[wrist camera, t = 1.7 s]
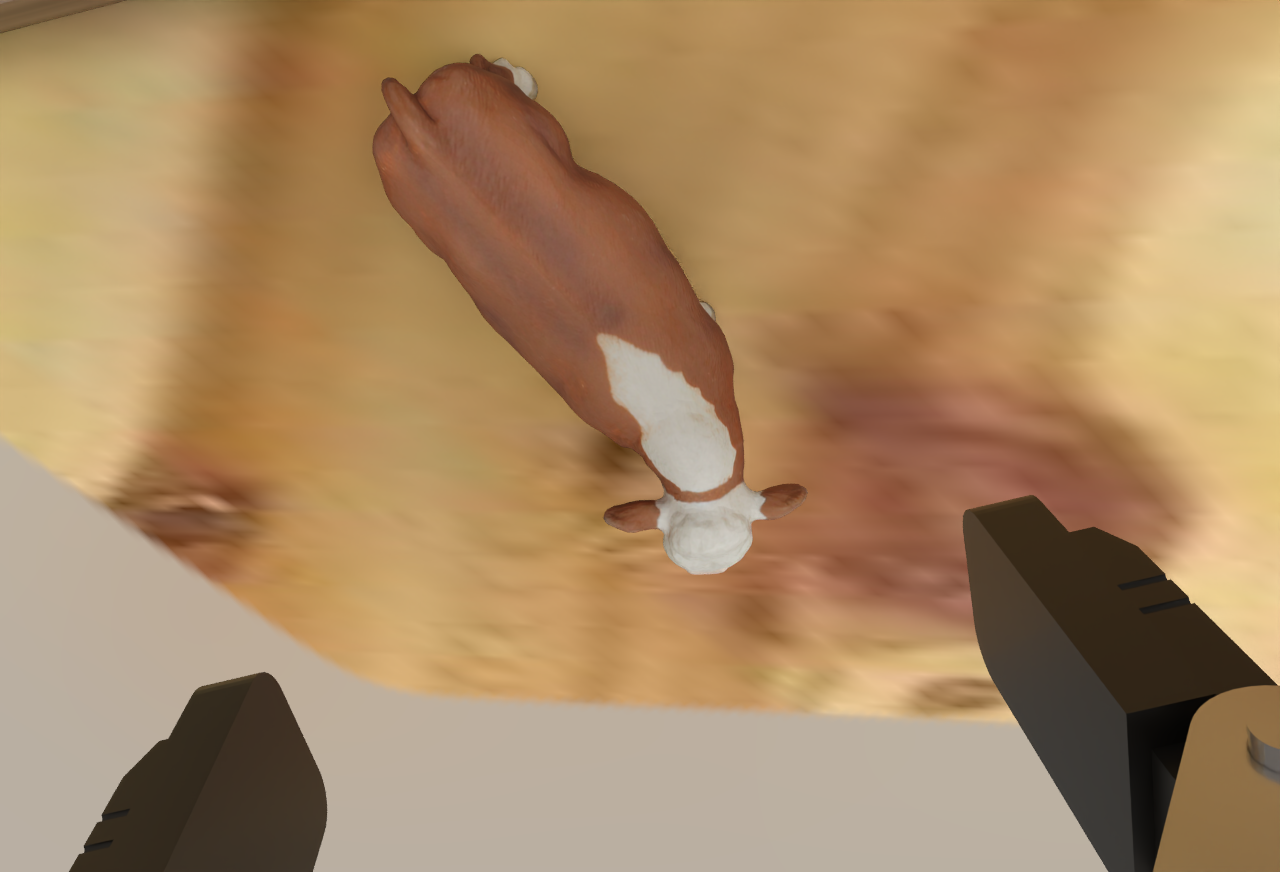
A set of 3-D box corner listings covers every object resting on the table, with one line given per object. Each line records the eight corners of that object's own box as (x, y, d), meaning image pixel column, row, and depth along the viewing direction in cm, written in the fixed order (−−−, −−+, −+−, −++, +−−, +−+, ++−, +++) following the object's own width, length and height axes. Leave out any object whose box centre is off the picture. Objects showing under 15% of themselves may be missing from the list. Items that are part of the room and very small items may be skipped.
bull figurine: (661, 490, 31) (688, 653, 23) (374, 94, 26) (292, 140, 18) (788, 414, 30) (858, 556, 22) (517, -9, 25) (492, -6, 18)
